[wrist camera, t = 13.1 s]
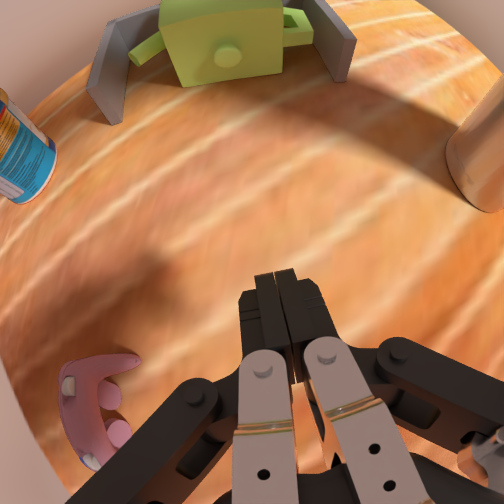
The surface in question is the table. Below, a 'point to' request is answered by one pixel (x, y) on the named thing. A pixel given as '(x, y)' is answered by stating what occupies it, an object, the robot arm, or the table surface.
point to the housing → (146, 24)
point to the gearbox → (224, 38)
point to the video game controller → (93, 406)
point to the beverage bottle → (23, 154)
